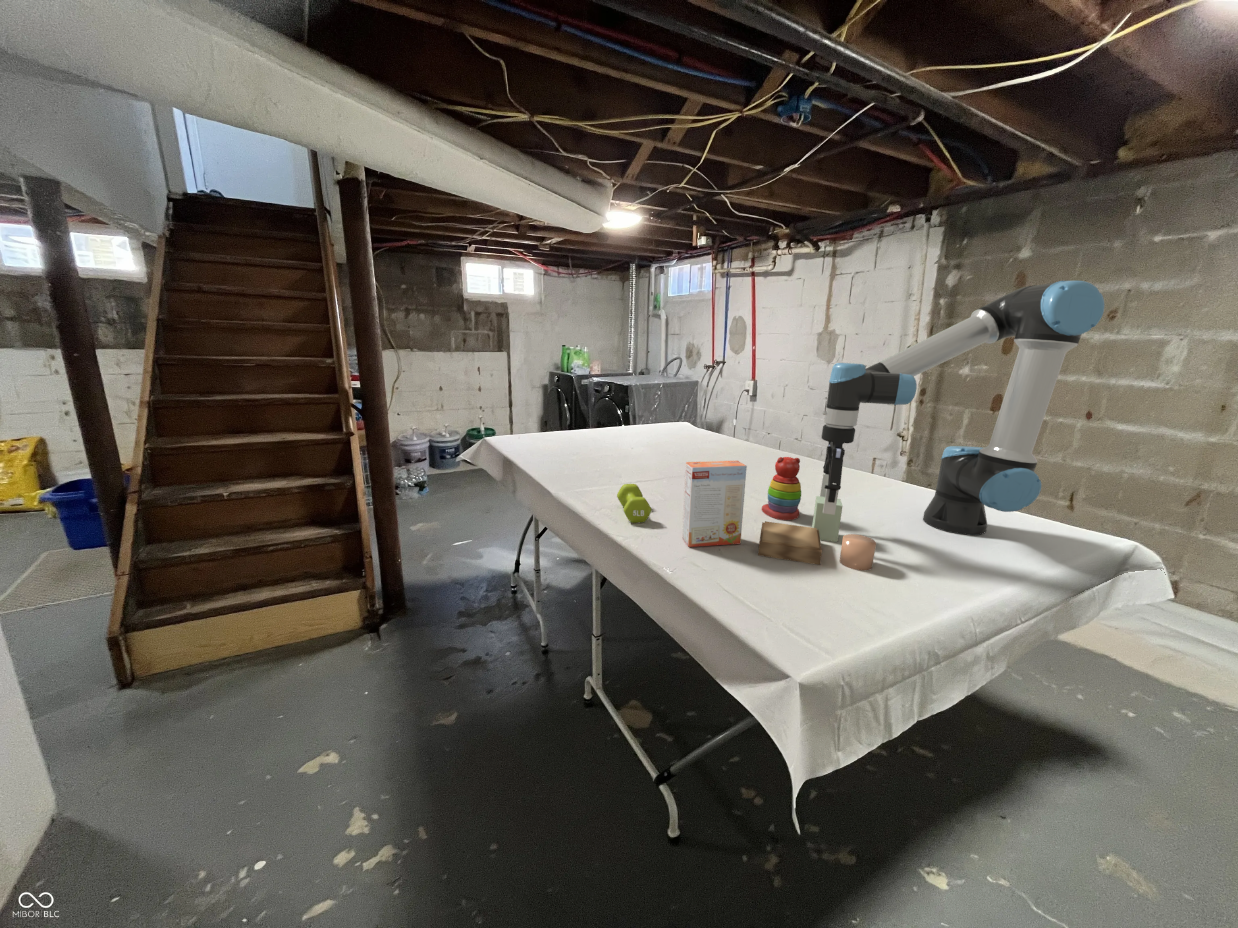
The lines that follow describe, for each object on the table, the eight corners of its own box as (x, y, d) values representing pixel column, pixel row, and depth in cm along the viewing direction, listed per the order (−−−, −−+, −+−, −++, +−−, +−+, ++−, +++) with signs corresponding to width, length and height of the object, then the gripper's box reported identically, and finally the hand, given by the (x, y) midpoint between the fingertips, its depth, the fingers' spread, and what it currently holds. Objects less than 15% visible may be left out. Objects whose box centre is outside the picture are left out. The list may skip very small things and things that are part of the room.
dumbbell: (651, 524, 136) (652, 499, 134) (623, 524, 135) (624, 500, 133) (641, 504, 151) (642, 482, 149) (616, 505, 150) (616, 482, 148)
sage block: (835, 533, 131) (840, 498, 129) (837, 542, 126) (842, 505, 123) (811, 530, 133) (816, 496, 131) (812, 538, 128) (817, 502, 125)
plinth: (817, 542, 125) (819, 527, 124) (820, 564, 113) (822, 549, 112) (761, 534, 130) (762, 520, 129) (757, 555, 117) (759, 540, 116)
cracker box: (731, 535, 128) (738, 459, 123) (741, 545, 123) (748, 465, 117) (680, 538, 126) (685, 460, 121) (687, 547, 120) (692, 466, 115)
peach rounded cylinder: (869, 559, 116) (873, 536, 114) (874, 572, 110) (878, 548, 108) (838, 555, 118) (841, 532, 117) (840, 567, 112) (844, 543, 110)
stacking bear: (795, 509, 149) (802, 453, 145) (804, 521, 139) (812, 462, 135) (760, 507, 150) (765, 452, 146) (766, 519, 140) (772, 460, 136)
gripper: (820, 417, 134) (809, 490, 140) (826, 432, 111) (813, 518, 117) (849, 419, 132) (837, 493, 138) (862, 435, 109) (847, 523, 115)
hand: (826, 505), depth 127 cm, fingers open, 13 cm apart
